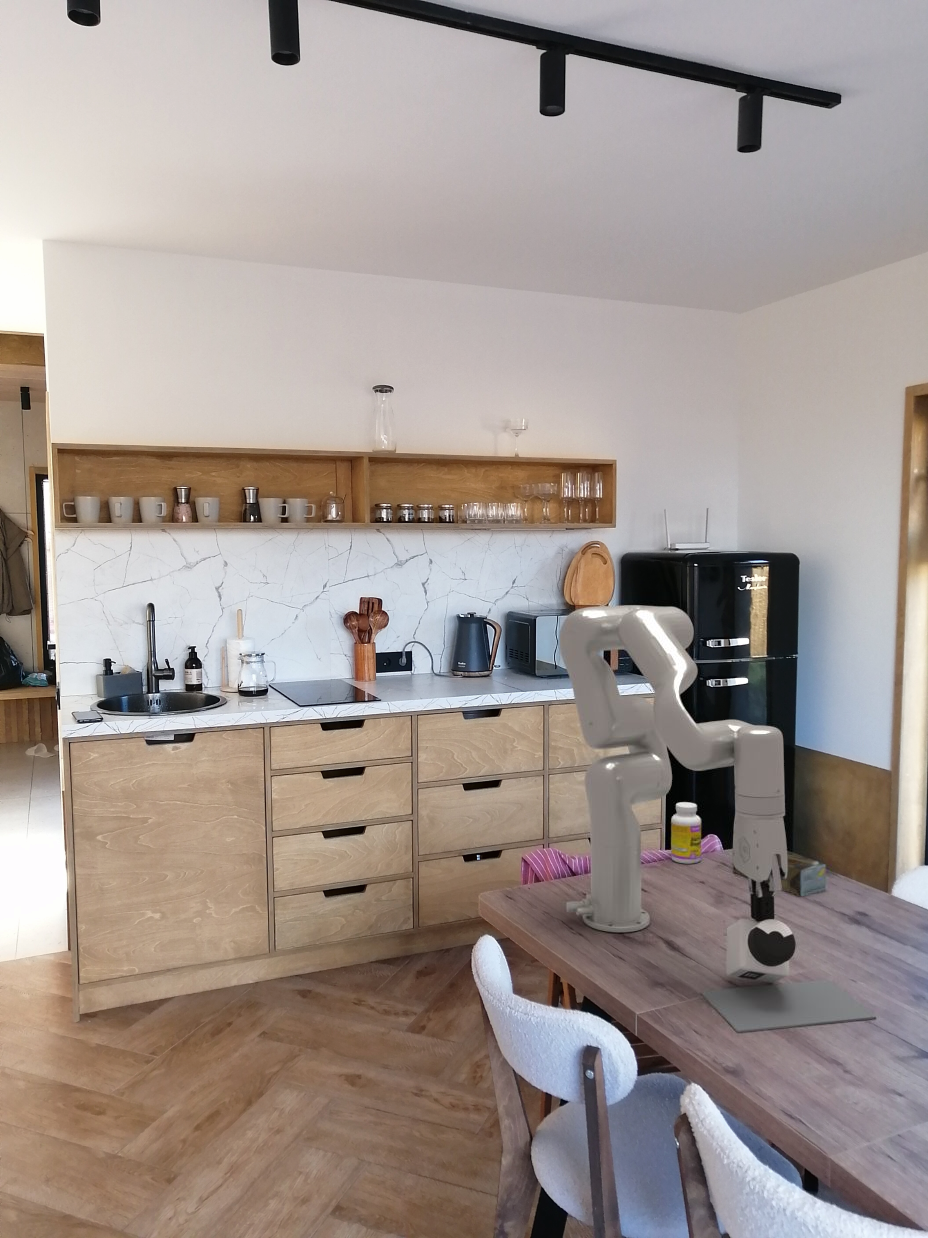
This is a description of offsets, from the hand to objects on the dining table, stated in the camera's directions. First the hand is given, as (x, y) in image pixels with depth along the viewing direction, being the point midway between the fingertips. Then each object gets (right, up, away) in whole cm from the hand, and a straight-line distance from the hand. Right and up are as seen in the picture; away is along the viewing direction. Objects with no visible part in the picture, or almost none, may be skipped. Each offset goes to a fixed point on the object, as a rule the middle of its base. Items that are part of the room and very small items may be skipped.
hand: (762, 919), depth 153 cm
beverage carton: (+19, -9, +52) cm, 56 cm away
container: (-1, -7, +5) cm, 9 cm away
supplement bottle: (+3, -8, +67) cm, 67 cm away
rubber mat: (+2, -12, -5) cm, 13 cm away
